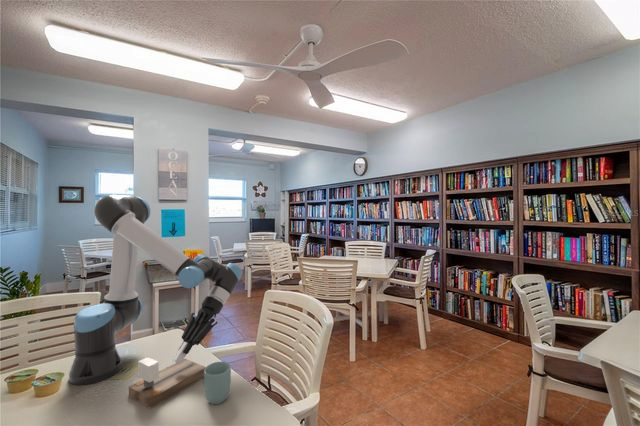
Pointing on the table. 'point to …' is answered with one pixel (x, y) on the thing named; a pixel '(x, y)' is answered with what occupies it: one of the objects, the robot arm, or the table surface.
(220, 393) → the cup
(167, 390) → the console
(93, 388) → the table surface
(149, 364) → the fader knob
